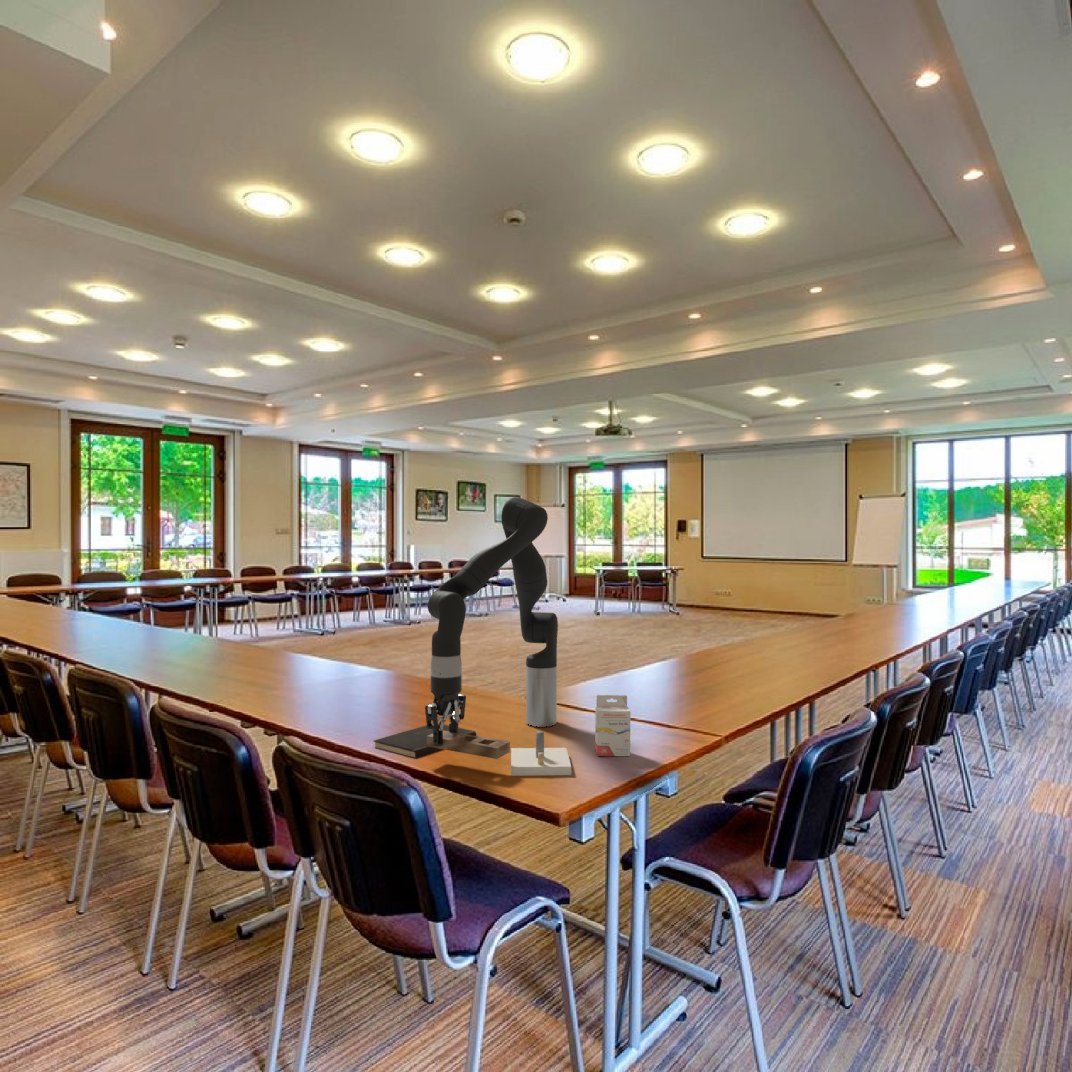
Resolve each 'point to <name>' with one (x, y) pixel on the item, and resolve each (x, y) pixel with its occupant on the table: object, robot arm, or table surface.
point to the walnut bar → (472, 745)
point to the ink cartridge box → (612, 726)
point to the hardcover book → (413, 741)
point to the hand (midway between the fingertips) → (446, 741)
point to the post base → (540, 760)
